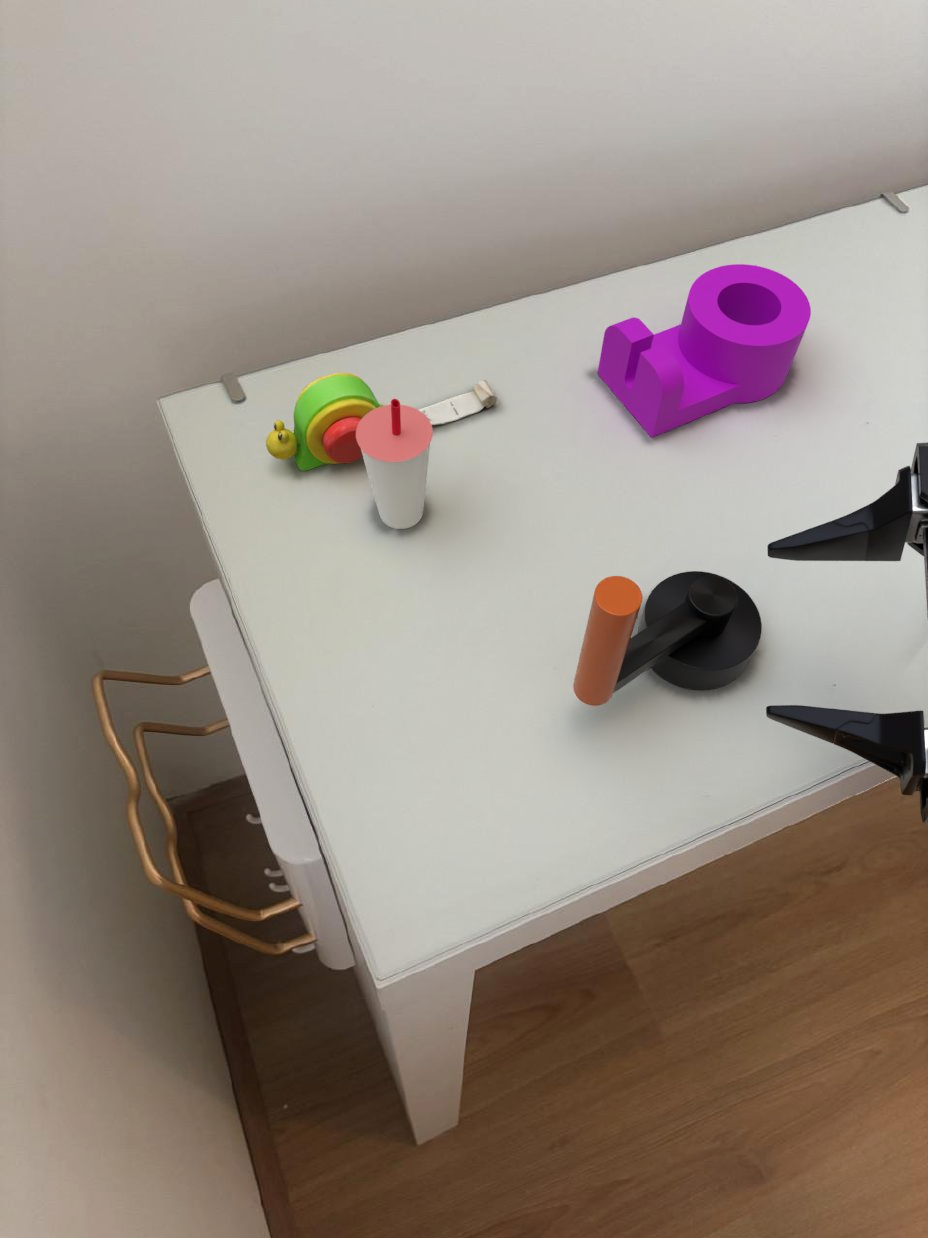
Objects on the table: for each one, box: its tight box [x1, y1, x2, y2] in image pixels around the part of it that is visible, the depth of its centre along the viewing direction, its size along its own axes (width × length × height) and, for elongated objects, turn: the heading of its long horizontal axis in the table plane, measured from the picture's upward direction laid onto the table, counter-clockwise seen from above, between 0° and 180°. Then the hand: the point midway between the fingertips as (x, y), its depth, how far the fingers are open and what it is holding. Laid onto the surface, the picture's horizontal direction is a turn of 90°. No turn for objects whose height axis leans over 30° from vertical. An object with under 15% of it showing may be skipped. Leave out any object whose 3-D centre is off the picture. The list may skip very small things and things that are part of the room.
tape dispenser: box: [597, 263, 812, 439], centre depth 77 cm, size 16×10×6 cm, turn 118°
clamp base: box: [637, 570, 763, 691], centre depth 64 cm, size 8×8×3 cm
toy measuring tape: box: [265, 372, 497, 472], centre depth 73 cm, size 6×20×7 cm, turn 113°
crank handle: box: [572, 575, 738, 707], centre depth 56 cm, size 13×3×12 cm, turn 126°
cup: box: [356, 398, 434, 530], centre depth 66 cm, size 5×5×12 cm
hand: (767, 628), depth 49 cm, fingers open, 9 cm apart
